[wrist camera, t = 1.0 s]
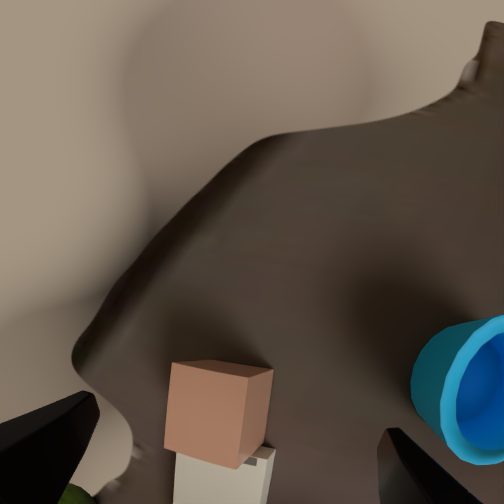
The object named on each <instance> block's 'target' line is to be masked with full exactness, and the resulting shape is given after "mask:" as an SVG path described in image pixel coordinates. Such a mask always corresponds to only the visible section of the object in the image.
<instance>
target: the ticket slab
mask: <svg viewBox="0 0 504 504" xmlns="http://www.w3.org/2000/svg"><path fill="white" fill-rule="evenodd" d="M275 451H276V449H273V448H268V447H263V446H260V447H259V448H258V449H257V450H256V451H255V452H254V453H253V454H252V455H251V456H250V457H249V458H248V459H247V460H246V461H245V462H244V463H243V464H242V465H241V466H240V467H239V468H238V469H236V470H235V469H231V468H227V467H223V466H220V465H216V464H212V463H209V462H206V461H202V460H199V459H196V458H193V457H189V456H186V455H183V454H180V453H176V466H175V481H174V496H173V504H266V502H267V496H268V491H269V485H270V480H271V474H272V468H273V463H274V457H275Z"/></svg>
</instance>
